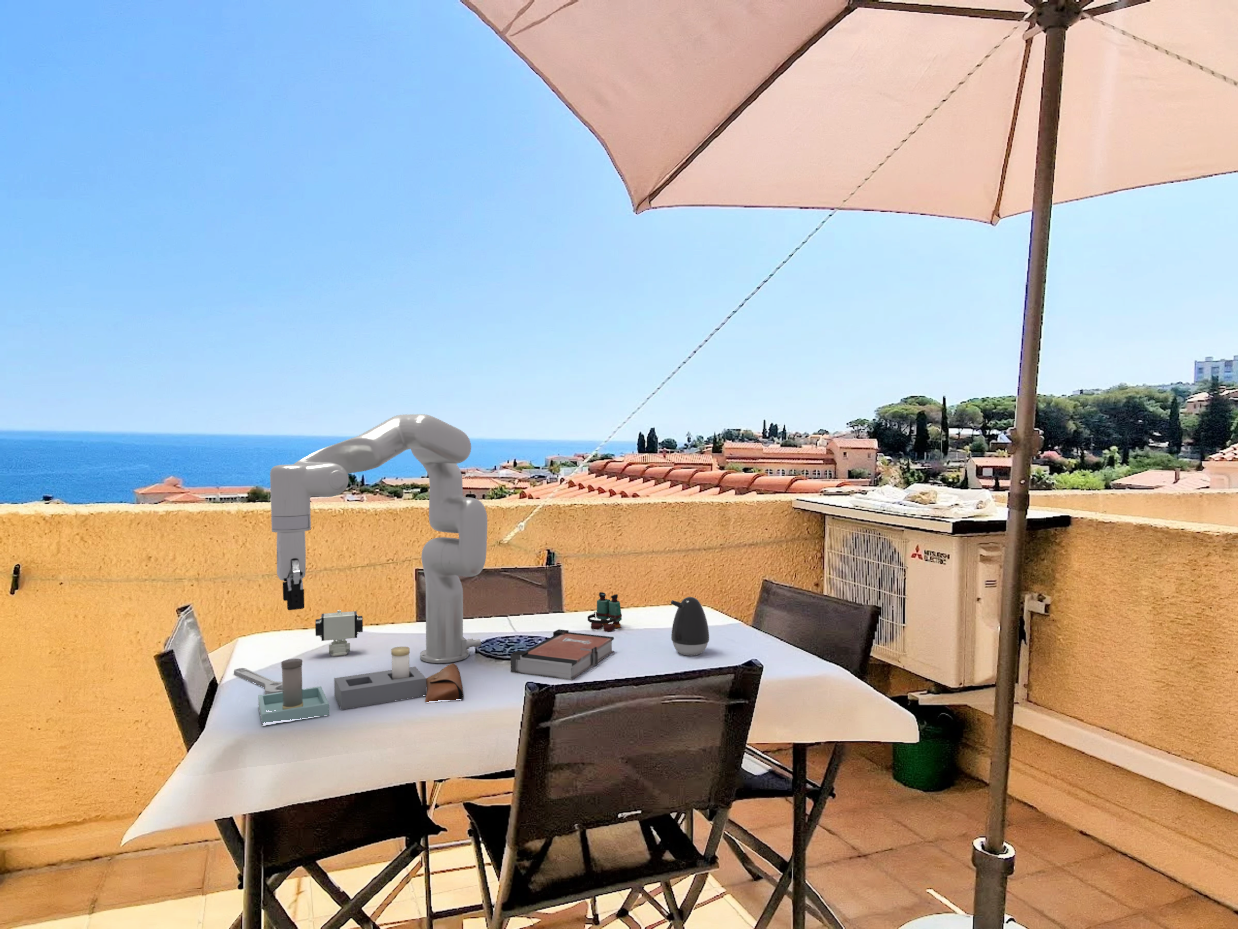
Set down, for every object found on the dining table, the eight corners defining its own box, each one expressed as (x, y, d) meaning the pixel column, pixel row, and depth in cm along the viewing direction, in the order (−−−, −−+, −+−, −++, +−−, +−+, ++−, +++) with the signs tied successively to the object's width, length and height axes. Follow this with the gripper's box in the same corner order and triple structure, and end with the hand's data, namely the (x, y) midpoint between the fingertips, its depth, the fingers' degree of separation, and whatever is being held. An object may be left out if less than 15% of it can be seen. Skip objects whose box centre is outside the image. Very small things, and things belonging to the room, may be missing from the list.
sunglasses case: (422, 678, 178) (436, 653, 179) (448, 691, 180) (462, 666, 181) (424, 704, 161) (440, 676, 162) (452, 717, 163) (468, 690, 163)
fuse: (407, 688, 171) (407, 645, 171) (411, 694, 167) (411, 650, 167) (389, 691, 169) (389, 648, 169) (393, 696, 166) (393, 652, 165)
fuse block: (415, 683, 175) (415, 666, 175) (426, 696, 166) (426, 678, 166) (334, 695, 166) (334, 678, 166) (341, 710, 157) (341, 691, 157)
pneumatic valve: (363, 654, 198) (362, 610, 198) (315, 659, 194) (315, 613, 194) (362, 649, 203) (362, 606, 203) (316, 653, 199) (315, 609, 199)
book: (574, 682, 177) (574, 662, 177) (510, 674, 183) (510, 654, 183) (616, 653, 201) (616, 635, 201) (558, 647, 208) (558, 629, 208)
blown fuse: (302, 703, 159) (300, 657, 159) (304, 709, 156) (303, 662, 155) (281, 707, 157) (280, 660, 157) (283, 713, 154) (282, 665, 153)
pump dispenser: (667, 648, 205) (667, 593, 204) (704, 647, 206) (705, 592, 205) (673, 659, 195) (673, 601, 194) (712, 658, 196) (713, 600, 195)
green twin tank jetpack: (582, 598, 224) (600, 590, 232) (584, 632, 225) (602, 622, 233) (607, 602, 219) (624, 593, 227) (609, 636, 220) (626, 626, 228)
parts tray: (321, 697, 165) (321, 686, 165) (329, 715, 154) (329, 703, 154) (258, 707, 159) (258, 695, 159) (262, 726, 148) (261, 714, 148)
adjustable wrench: (231, 676, 182) (231, 668, 182) (259, 670, 187) (259, 663, 187) (270, 700, 164) (270, 692, 164) (299, 693, 169) (299, 685, 169)
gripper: (268, 520, 161) (270, 598, 162) (274, 529, 146) (277, 615, 147) (306, 518, 165) (308, 594, 166) (315, 526, 150) (317, 610, 150)
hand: (293, 604), depth 156 cm, fingers open, 9 cm apart
